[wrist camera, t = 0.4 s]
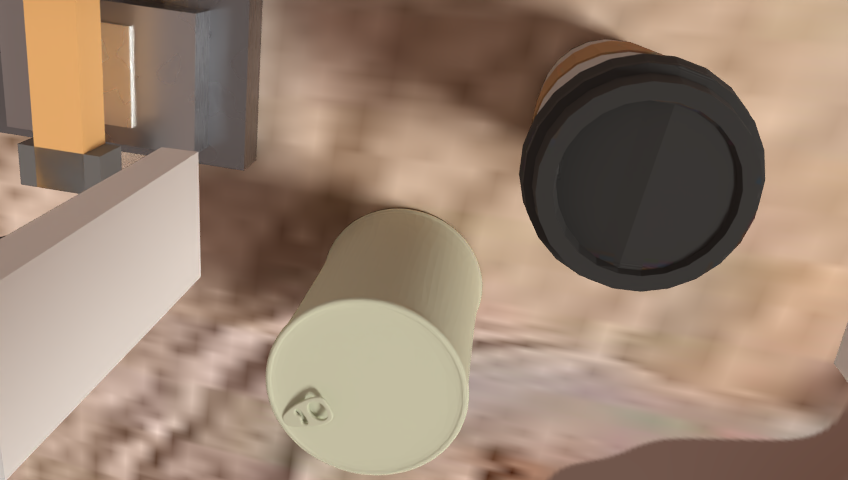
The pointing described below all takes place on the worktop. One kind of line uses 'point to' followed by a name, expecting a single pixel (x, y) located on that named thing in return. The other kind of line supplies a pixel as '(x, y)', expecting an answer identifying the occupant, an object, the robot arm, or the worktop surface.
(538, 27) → the worktop surface
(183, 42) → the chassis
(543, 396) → the worktop surface
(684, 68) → the coffee cup
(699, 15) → the worktop surface
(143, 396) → the worktop surface
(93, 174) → the bar
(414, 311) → the can
